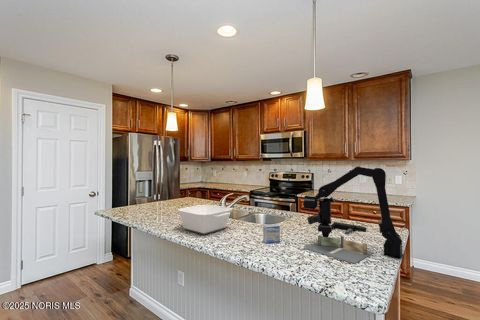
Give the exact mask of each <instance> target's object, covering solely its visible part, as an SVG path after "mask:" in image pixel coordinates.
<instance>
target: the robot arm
mask: <svg viewBox="0 0 480 320" xmlns="http://www.w3.org/2000/svg"><path fill="white" fill-rule="evenodd" d="M359 175H360V176H363V177H369V178H372V180H373V183H374V185H375V188H376V189H375V190H376V193H377V199H378V200H377V201H378V205H379V211H380V217H381V218H380V220H379V221H377V223H378V227H379V228H378V229H379V233H380V234H381V236H382V237H383V238H384V239H385V240H384V243H383V256H386V257H390V258H394V259H398V260H400V259H401V258H403V257H404V256H405V254H403V240H402V238H401V235H400V234H399V233H398V232H397V231H396V229H395V226H394V223H393V220H392V217H391V212H390V207H389V202H388V196H387V191H386V181H387V179H386V178H387V177H386V175H387V174H386V171H385V170H384V169H383V168H382V167H375V168H369V167H362V166H360V165H359V166H355V167H354V168H353V169H351V170H349V171H348V172H347V173H345V174H343V175H341V176H340V177H338V178H336V180H335V179H334V181H331V182H329V183H326V184H324V185H322V186H320V187H319V188H318V193H317V194H315V195H313V196H312V195H307V194H306V195H304V199H303V202H302V203H303V205H302V206H303V209H305V210H316V209H317V208H318V213H317V214H314V215H309V216H307V218H306V219H307V222H308V224H309V225H313V224H318V225H317V231H318V232H320V233H321V235H322V237H329V235H330V234H331V233H332V232H333V231H332V226H331V225H332V217H331V216H332V203H335V202H336V199H334V197H333V196H331V195H332V194H333V193H334V192H335V191H336V190H338V188H340V187H341V186H344V185H345V184H347V183H348V182H349V181H351V180H353V179H354V178H356V177H357V176H359ZM329 196H331V197H329ZM322 198H323V199H322Z"/></svg>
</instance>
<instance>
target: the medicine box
mask: <svg viewBox="0 0 480 320" xmlns="http://www.w3.org/2000/svg"><path fill="white" fill-rule="evenodd" d="M262 232H263V233H262V241H263V242H264V243H265V244H267V245H269V244H277V243H278V244H279V243H281V226H280V225H278V224H265V225H263V226H262Z"/></svg>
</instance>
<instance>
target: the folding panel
mask: <svg viewBox="0 0 480 320" xmlns="http://www.w3.org/2000/svg"><path fill="white" fill-rule="evenodd" d="M317 242H318V245H324V246H333V247H340V244H341V237H340V238H338V237H331V236H330V237H329V236H328V237H323V236H321V235H318V236H317Z"/></svg>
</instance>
